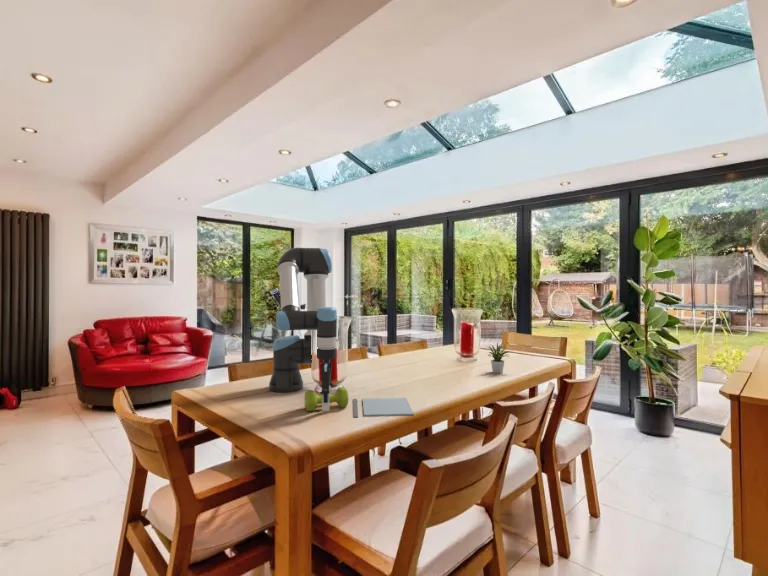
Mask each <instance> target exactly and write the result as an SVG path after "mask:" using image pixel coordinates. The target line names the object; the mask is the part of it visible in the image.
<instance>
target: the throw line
mask: <svg viewBox="0 0 768 576" xmlns="http://www.w3.org/2000/svg"><path fill="white" fill-rule="evenodd" d="M352 408H353V410H352V411H353V415H352V416H353V418H357V419H358V418H359V412H358V409H359V408H358V399H357V398H353V399H352Z"/></svg>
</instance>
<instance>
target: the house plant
mask: <svg viewBox="0 0 768 576" xmlns="http://www.w3.org/2000/svg"><path fill="white" fill-rule="evenodd" d="M504 345H505V343H503V344H499V343H498V342H497V343H496V348H495V347H494V345H491V346H490V345H489V346H487V345H486V347H487V348H488V349H489V350H490V352H488V353H489V354H488V355H487V356H488V358H490V357H491V358H493V359H490V362H491V363H490V364H491V370H492V373H494V374H502V373H504V366H505V360H503V358H504V357H505V355H506V354H507V357H508V358H510V354H508V353H512V351H511V350H507V349H508V348H509V345H508V346H506V347H504V348H503V346H504ZM502 348H503V349H502ZM505 350H507V351H505Z"/></svg>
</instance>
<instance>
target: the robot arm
mask: <svg viewBox="0 0 768 576" xmlns="http://www.w3.org/2000/svg"><path fill="white" fill-rule="evenodd" d="M332 266H333V264H332V257H331V253H330V251H329V250H328V249H327V248H320V247H292V248H290V249H288V250H287V251H285V252H284V253H283V254H282V255H281V257H280V258H279V259H278V262H277V266H276V267H277V269H276V270H277V274H278V275H279V289H280V291H279V292H280V311H279V310H278V311H277V312H276V316H275V317H276V319H275V320H276V329H277V330H278V331H288V332H289V331H301V330H302V331H305V330H306V332H305V333H304V334H303V338H300V336H299V335H295V334H294V335H286V336H281V337H278V338H276V339H275V340H274V341H273V345H272V352H273V353H272V354H273V355H272V357H273V358H272V359H273V360H272V373H271V376H270V380H269V383H268V390H269V391H271V392H277V393H291V392H296V391H300V390H302V389H303V388H304V380H303V377H302V375H301V374H302V373H301V371H300V365H311V363H312V360H311V359H312V355H311V330H317V347H318V349H317V358H318V359H323V362H322V363H320V368H321V375H322V378H321V391H319V393H320V395H322V404H321V412H330V403H329V397H330V394H332V393H331V392H332V387H331V386H333V382H332V380H331V379H332V377H331V376H332V369H333V362H332V360H334V359H336V358H337V356H338V354H337V353H338V352H337V351H338V350H337V349H338V348H336V347H337V346H338V345H337V342H339V339H338V338H337V336H338V335H337V333H338V331H337V328H338V327H337V326H338V325H337V324H338V321H337V320H338V312H337V311H338V310H337V308H336V307H332V306H326V280H327V279H328V278H329V274H331V273H332V271H333V269H332ZM299 273H303V278H304V279H306V302H307V304H306V310H301V307H300V304H301V303H300V293H299V281H298V275H299Z"/></svg>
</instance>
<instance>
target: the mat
mask: <svg viewBox="0 0 768 576" xmlns="http://www.w3.org/2000/svg"><path fill="white" fill-rule="evenodd" d="M361 400H362V409H363V417H389V416H392V417H396V416H397V417H398V416H414V415H415V414H414V411H413V409H412V407H411V405H410V404H409V401H408V399H407V398H406V397H381V398H380V397H379V398H375V397H374V398H371V397H370V398H362V399H361Z"/></svg>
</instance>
